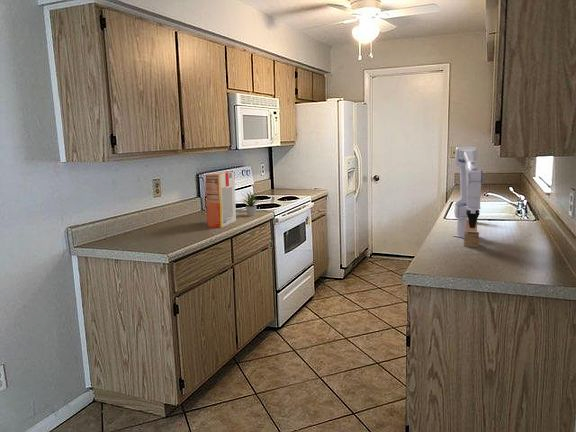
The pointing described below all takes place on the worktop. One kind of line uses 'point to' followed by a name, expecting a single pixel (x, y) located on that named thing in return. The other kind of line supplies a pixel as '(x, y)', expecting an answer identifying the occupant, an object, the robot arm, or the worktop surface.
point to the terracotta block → (469, 226)
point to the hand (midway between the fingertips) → (472, 226)
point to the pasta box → (220, 198)
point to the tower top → (471, 236)
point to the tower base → (471, 243)
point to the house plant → (251, 204)
